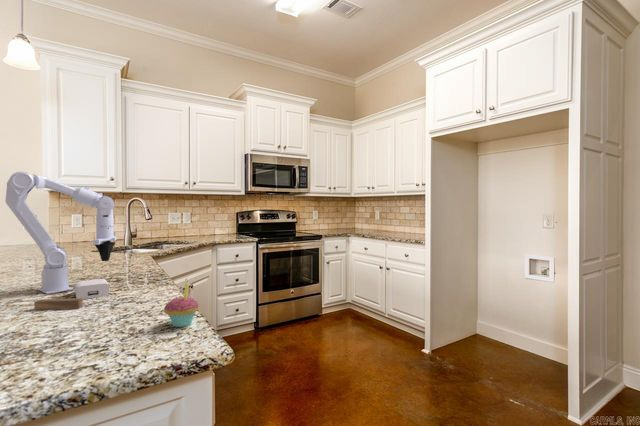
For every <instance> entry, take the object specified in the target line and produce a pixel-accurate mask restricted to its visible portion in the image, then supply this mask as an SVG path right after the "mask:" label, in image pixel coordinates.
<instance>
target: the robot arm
mask: <svg viewBox="0 0 640 426" xmlns="http://www.w3.org/2000/svg"><path fill="white" fill-rule="evenodd" d="M34 188H35V189H49V190H51V191H55V192H58V193H61V194H64V195H67V196H71V197H72V200H73V201H74V202H76V203H79V204H82V205H85V206H87V207H91V208H94V207H96V217H95V220H96V222H95V224H96V232H95V234H96V237H95V238H94V239H92V244H93V245H94V246H95V247H96V249H97V251H98V254H99V256H100V260H101V261H102V262H108V261H110V258H111V254H112V250H113V249H114V246H115V245H116V242H115V241H117V239H118V237H117V236H116V235H114V229H115V228H114V208H115V206H116V205H115V201H114V199H112V197H110V196H108V195H107V196H106V195H103V193H102V192H99V193H98V192H97V191H96V192H95V191H93V190H90V188H89V187H87V186H85V187H83V186H82V187H77V188H74V187H72V186H69V185H66V184H65V183H64V184H63V182H60V181H56V180H54V179H52V178H49V177H45V176H42V175H37V174H35V173H34V174H33V173H32V174H31V173H29V172H27V171H16V172H14V173H12V174H11V176H10V177H9V179H8V181H7V182H6V189H5V190H6V193H5V199H4V200H5V203H6V205H7V207H8V208H9V209H10V210H11V212H12V214H13V215H14V216H15V217H16V218H17V221H19V222H20V224H21V225H22V227H23V228H24V229H25V230H26V232H27V233H28V234H29V236H30V237H31V238H32V240H33V241H34V242H35V244H36V245H37V246H38V248H39V250H40V251H41V253H42V254H43V256H44V262H45V264H43V269H42V270H41V287H40V288H38V289H37V290H38V291H40V292H41V293H44V294H47V295H48V294H54V293H60V292H64V291H71V290H73V289H74V287H71V286H69V283H70V282H69V281H70V280H69V276H70V275H69V263H67V260H68V259H67V258H68V256H67V254H68V253H67V251H66V250H65V249H64V248H63V247H61V246H60V245H58V244H57V242H55V239H53V238H52V236H51V235H50V233H49V232H48V231H47V230H46V228H45V227H44V225H43V224H42V223H41V221H40V220H39V219H38V217H37V215H36V214H35V213H34V212H33V210H32V209H31V208H30V206H29V205H28V204H27V202H26V200H27V197H28V195H29V193H30V192H31V191H32V189H34Z"/></svg>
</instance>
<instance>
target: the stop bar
mask: <svg viewBox="0 0 640 426" xmlns="http://www.w3.org/2000/svg"><path fill="white" fill-rule="evenodd" d="M83 300H84V299H83V298H52V299H51V298H50V299H49V298H48V299H39V300H35V301H34V302H33V303H34V311H47V310H70V309H71V310H72V309H80V308H82V307H83V305H84V304H83V303H84V301H83Z"/></svg>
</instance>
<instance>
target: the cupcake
mask: <svg viewBox="0 0 640 426" xmlns="http://www.w3.org/2000/svg"><path fill="white" fill-rule="evenodd" d="M184 287H185V288H184V293H183V294H184V295H183V297H176V298H173V299H171V300H170V301H168V302H167V303H166V304H165V306H164V308H163V312H164V313H165V314H166V315H168V316H169V318H170V322H171V324H172V326H173V327H176V328H183V327H188V326H190V325H192V323H193V320H194V317H195V314H196V312H198V310H199V306H200V304H199V303H198V301H197V300H195V298H192V297H190V296H188V289H189V280H187V282H186V283H185V286H184Z"/></svg>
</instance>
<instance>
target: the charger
mask: <svg viewBox="0 0 640 426" xmlns="http://www.w3.org/2000/svg"><path fill="white" fill-rule="evenodd" d="M74 294H75V297H76V298H83V300H88V299H95V298H102V297H108V296H109V295H110V285H109V283H108V281H107V280H106V279H105V278H97V279H96V278H95V279H88V280H81V281H80V280H79V281H77V282H75V283H74Z"/></svg>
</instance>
